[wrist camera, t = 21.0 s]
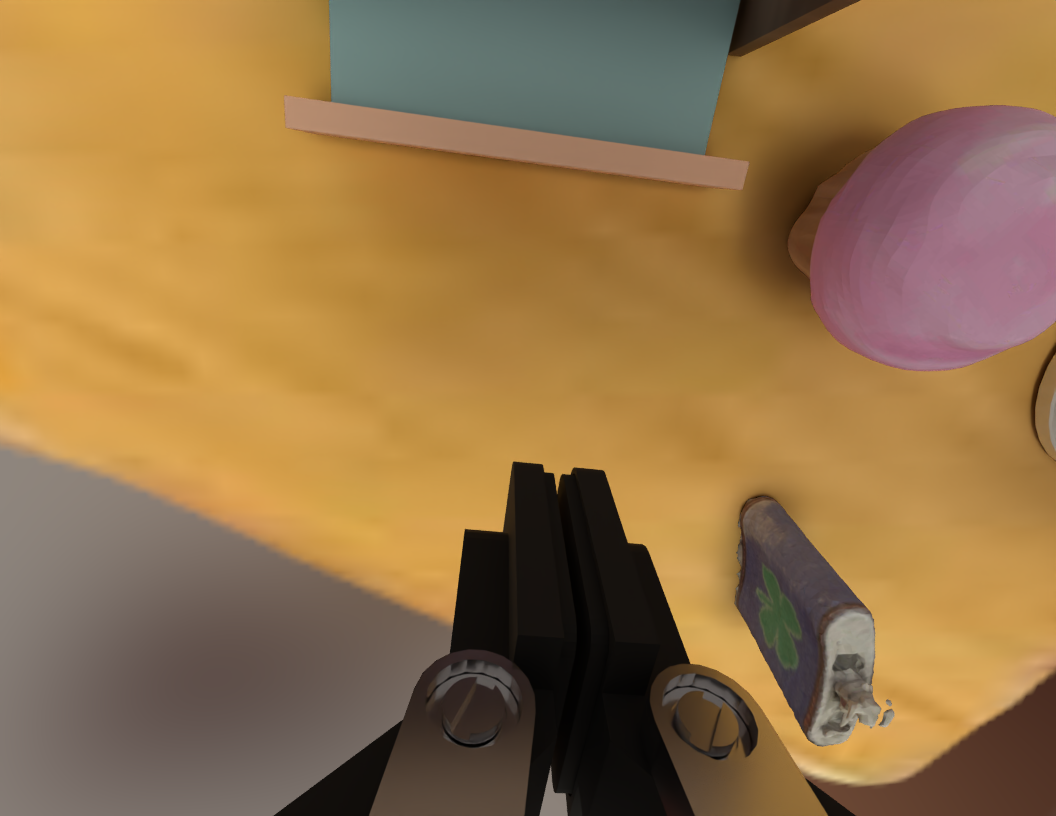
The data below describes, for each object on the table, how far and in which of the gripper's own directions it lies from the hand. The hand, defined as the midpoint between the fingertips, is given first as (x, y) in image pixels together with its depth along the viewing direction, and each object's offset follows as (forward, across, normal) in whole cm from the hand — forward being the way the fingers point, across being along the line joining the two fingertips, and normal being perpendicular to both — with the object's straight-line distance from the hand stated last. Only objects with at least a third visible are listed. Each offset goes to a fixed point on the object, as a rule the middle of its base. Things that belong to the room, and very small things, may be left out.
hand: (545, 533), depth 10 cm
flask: (+18, -16, +13) cm, 27 cm away
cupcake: (+18, -14, -6) cm, 23 cm away
